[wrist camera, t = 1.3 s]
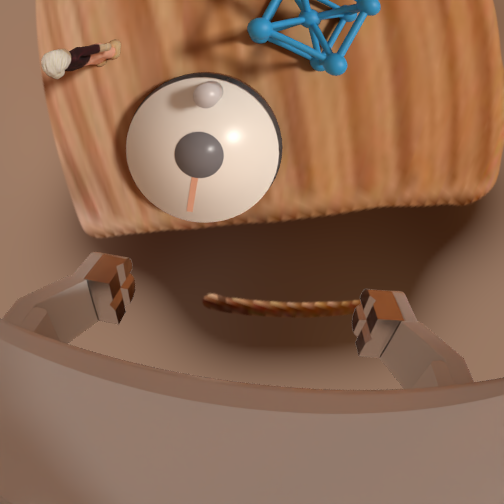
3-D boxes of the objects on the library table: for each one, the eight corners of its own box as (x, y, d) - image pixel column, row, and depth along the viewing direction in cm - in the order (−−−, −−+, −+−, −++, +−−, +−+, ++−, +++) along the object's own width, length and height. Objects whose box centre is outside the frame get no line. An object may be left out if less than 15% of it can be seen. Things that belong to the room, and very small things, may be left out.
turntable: (139, 68, 29) (120, 72, 25) (296, 96, 31) (303, 104, 27) (127, 202, 40) (112, 223, 36) (257, 229, 43) (256, 253, 38)
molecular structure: (356, 12, 26) (387, 2, 18) (322, 74, 31) (343, 80, 23) (281, -24, 24) (289, -50, 16) (246, 39, 29) (242, 33, 21)
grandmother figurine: (120, 27, 27) (65, 25, 17) (132, 49, 29) (81, 53, 19) (77, 61, 29) (17, 74, 19) (88, 81, 31) (31, 100, 21)
